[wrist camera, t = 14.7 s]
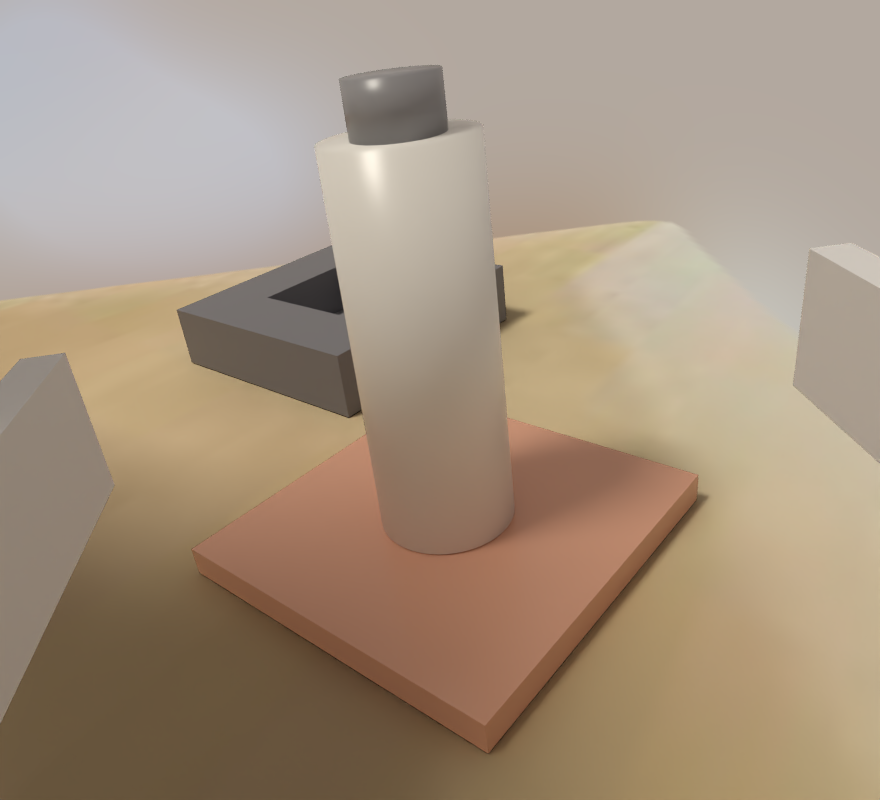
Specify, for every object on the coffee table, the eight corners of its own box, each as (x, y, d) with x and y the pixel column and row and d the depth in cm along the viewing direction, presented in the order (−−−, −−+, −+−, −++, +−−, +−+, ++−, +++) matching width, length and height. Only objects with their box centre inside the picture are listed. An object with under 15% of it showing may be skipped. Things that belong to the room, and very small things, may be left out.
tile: (199, 572, 26) (191, 548, 25) (429, 413, 34) (427, 393, 33) (488, 754, 19) (485, 725, 18) (696, 499, 26) (698, 474, 26)
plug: (354, 525, 26) (266, 88, 19) (438, 461, 28) (386, 63, 22) (459, 572, 23) (396, 84, 17) (540, 497, 26) (513, 56, 20)
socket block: (191, 362, 41) (176, 309, 40) (351, 286, 49) (343, 240, 48) (348, 417, 34) (337, 356, 33) (506, 318, 42) (502, 265, 40)
